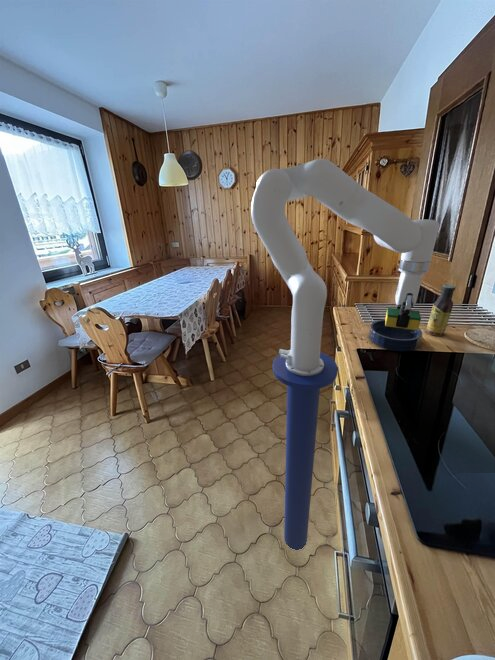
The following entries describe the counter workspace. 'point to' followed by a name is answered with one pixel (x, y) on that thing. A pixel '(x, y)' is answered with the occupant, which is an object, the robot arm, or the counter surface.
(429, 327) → the sauce bottle
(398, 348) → the bowl
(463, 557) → the counter surface
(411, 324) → the sponge
